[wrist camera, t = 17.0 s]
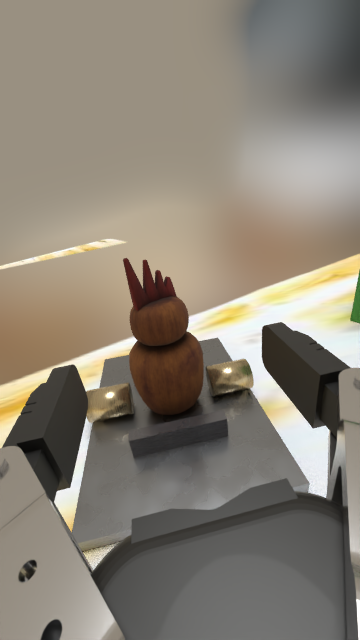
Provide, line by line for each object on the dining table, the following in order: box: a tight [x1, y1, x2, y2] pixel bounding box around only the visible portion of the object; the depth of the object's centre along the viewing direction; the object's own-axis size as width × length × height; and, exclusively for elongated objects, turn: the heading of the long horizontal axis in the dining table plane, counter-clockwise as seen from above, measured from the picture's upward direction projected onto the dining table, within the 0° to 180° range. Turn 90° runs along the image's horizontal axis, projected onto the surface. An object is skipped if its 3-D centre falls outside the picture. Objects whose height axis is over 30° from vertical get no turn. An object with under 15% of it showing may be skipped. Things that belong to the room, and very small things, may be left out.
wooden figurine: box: [123, 258, 204, 415], centre depth 23 cm, size 7×6×15 cm
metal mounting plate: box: [72, 338, 309, 551], centre depth 25 cm, size 16×21×4 cm
